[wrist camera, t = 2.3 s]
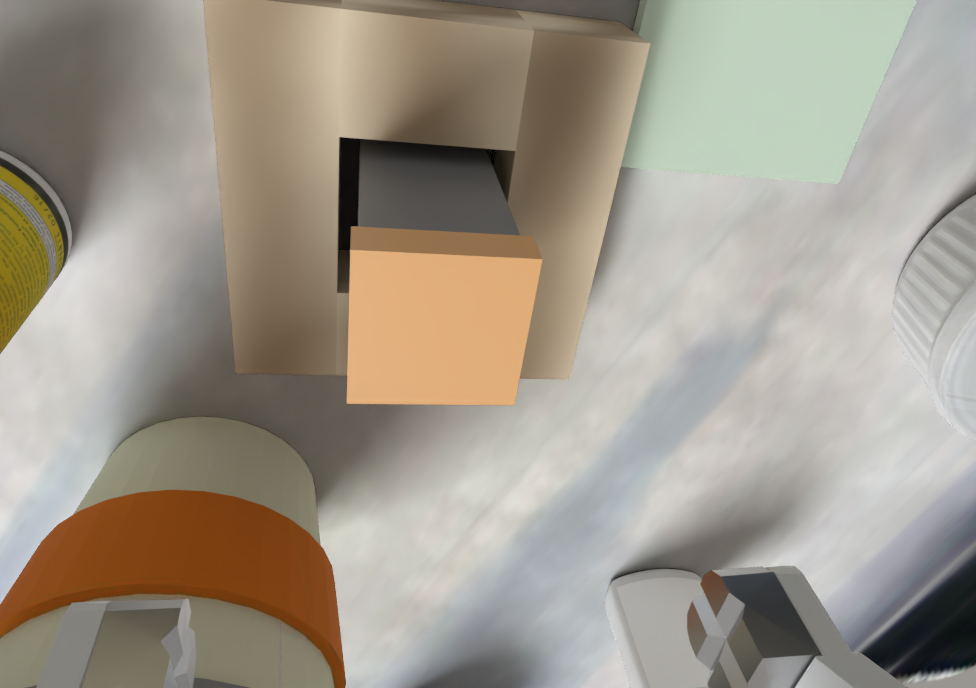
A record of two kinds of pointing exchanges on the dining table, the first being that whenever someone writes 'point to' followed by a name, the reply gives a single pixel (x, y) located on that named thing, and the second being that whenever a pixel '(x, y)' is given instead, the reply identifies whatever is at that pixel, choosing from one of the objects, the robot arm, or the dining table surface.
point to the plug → (436, 280)
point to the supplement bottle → (28, 242)
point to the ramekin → (943, 315)
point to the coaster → (759, 84)
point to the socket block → (414, 119)
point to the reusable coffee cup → (193, 557)
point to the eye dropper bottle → (656, 628)
